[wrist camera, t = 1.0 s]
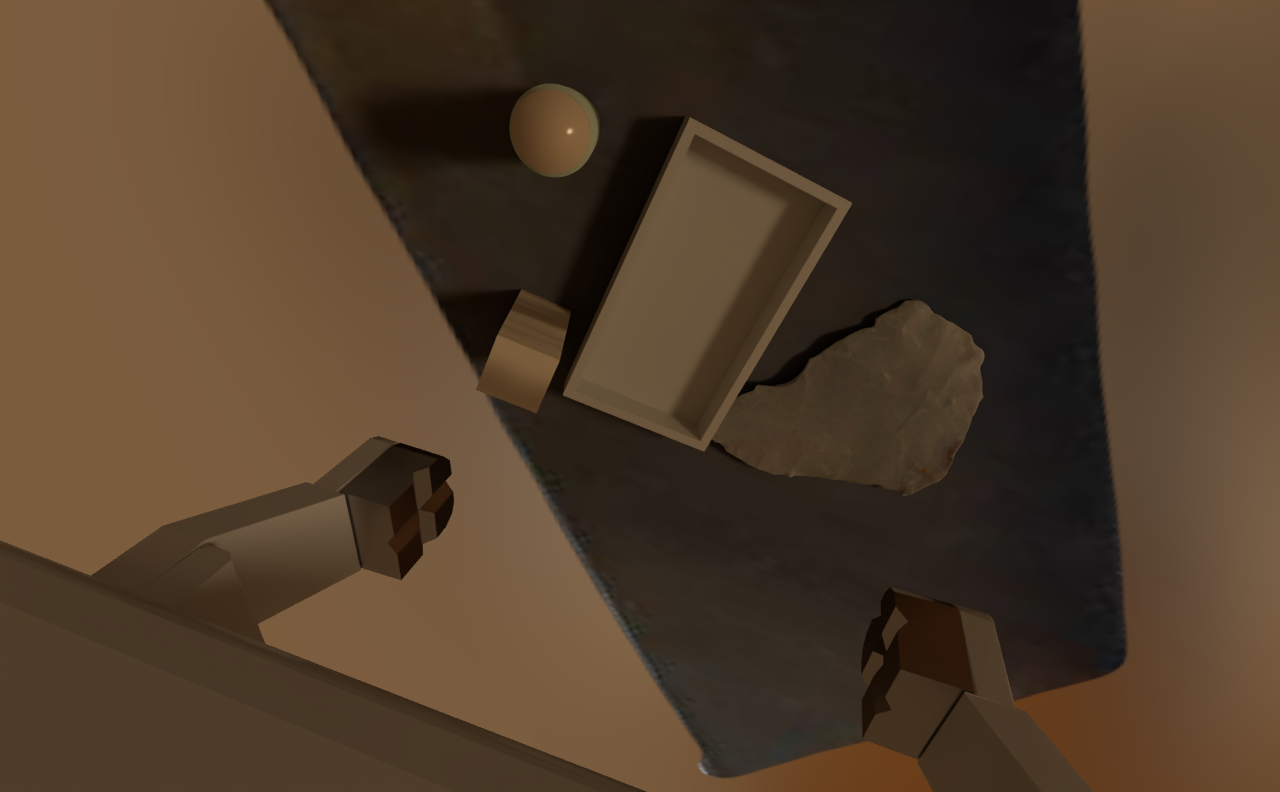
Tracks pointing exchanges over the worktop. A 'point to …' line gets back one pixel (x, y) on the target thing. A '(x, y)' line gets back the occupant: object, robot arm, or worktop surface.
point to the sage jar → (554, 129)
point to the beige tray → (701, 286)
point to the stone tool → (867, 406)
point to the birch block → (526, 352)
